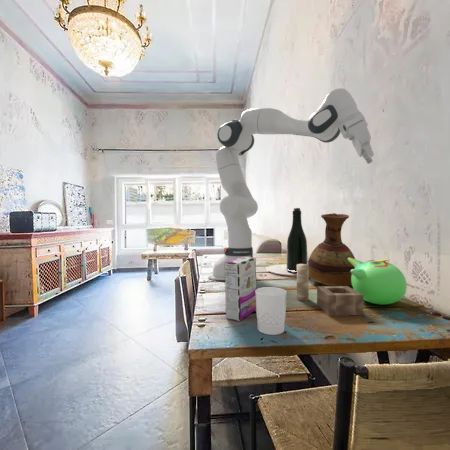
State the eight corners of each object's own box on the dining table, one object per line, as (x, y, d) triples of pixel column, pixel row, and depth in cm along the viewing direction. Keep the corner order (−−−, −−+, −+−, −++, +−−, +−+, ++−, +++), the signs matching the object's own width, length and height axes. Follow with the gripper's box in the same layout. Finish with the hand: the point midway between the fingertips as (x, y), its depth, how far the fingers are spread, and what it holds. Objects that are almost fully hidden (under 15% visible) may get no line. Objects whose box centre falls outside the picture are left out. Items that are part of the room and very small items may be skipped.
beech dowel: (298, 301, 92) (298, 266, 92) (295, 297, 96) (295, 263, 96) (310, 300, 92) (310, 265, 92) (306, 297, 96) (306, 263, 96)
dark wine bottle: (296, 268, 148) (296, 208, 147) (311, 271, 140) (311, 207, 138) (282, 270, 143) (282, 208, 142) (297, 274, 134) (297, 207, 133)
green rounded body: (414, 314, 79) (415, 264, 78) (350, 308, 84) (351, 261, 84) (396, 296, 96) (397, 255, 95) (344, 293, 101) (345, 253, 101)
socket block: (328, 316, 78) (328, 295, 78) (317, 304, 88) (317, 286, 88) (363, 315, 78) (363, 295, 78) (347, 304, 88) (347, 286, 88)
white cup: (267, 339, 64) (267, 297, 64) (249, 327, 71) (249, 289, 71) (293, 332, 68) (293, 292, 67) (273, 321, 75) (273, 285, 74)
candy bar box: (243, 307, 87) (242, 256, 86) (257, 310, 84) (256, 257, 83) (224, 318, 77) (223, 261, 77) (239, 322, 74) (239, 262, 74)
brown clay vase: (310, 289, 107) (310, 213, 106) (304, 277, 127) (304, 213, 126) (364, 291, 103) (364, 212, 102) (349, 279, 123) (349, 213, 122)
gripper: (346, 140, 111) (361, 169, 109) (344, 122, 93) (362, 157, 90) (361, 132, 109) (378, 162, 106) (362, 111, 90) (382, 147, 88)
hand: (371, 159), depth 98 cm, fingers open, 8 cm apart
